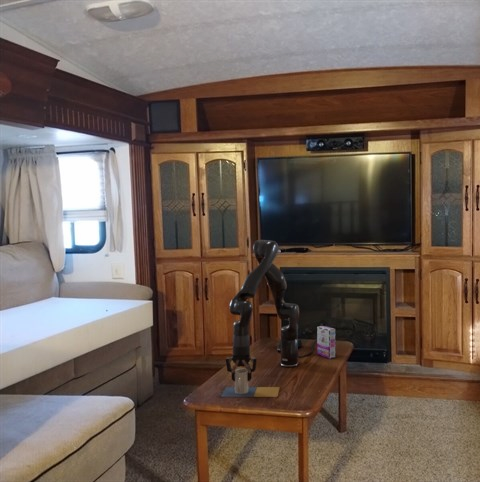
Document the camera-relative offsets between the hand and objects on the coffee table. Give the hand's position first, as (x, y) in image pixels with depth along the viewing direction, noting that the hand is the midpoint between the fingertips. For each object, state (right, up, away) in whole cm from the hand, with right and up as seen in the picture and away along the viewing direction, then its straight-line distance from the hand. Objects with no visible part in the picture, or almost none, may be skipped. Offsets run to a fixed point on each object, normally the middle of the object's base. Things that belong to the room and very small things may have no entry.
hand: (241, 380), depth 197 cm
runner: (+4, -5, 0) cm, 7 cm away
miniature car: (+17, -3, +66) cm, 68 cm away
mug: (0, -5, -1) cm, 5 cm away
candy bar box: (+39, -3, +53) cm, 66 cm away
